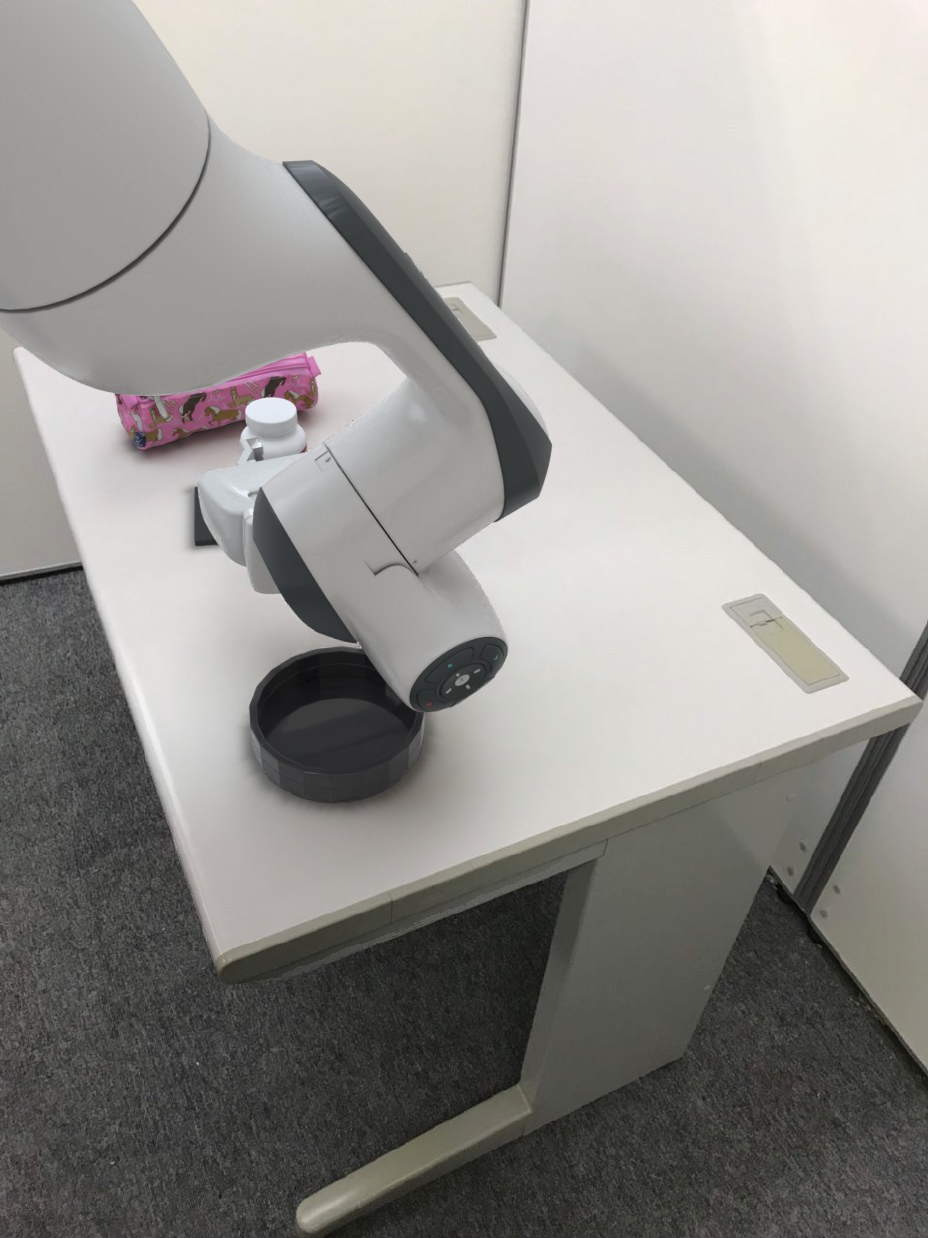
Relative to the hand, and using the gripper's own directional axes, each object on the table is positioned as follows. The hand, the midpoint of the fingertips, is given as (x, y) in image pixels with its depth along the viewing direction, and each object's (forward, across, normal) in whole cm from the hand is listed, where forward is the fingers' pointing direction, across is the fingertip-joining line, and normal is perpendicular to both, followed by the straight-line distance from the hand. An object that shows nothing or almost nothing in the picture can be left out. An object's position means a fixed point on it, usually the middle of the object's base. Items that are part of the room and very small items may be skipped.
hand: (305, 435), depth 78 cm
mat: (+12, 0, +16) cm, 20 cm away
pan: (-18, +4, +16) cm, 24 cm away
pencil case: (+30, 0, +16) cm, 34 cm away
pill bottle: (+12, 0, +15) cm, 19 cm away
